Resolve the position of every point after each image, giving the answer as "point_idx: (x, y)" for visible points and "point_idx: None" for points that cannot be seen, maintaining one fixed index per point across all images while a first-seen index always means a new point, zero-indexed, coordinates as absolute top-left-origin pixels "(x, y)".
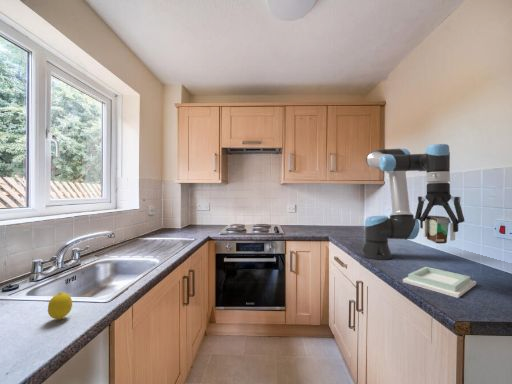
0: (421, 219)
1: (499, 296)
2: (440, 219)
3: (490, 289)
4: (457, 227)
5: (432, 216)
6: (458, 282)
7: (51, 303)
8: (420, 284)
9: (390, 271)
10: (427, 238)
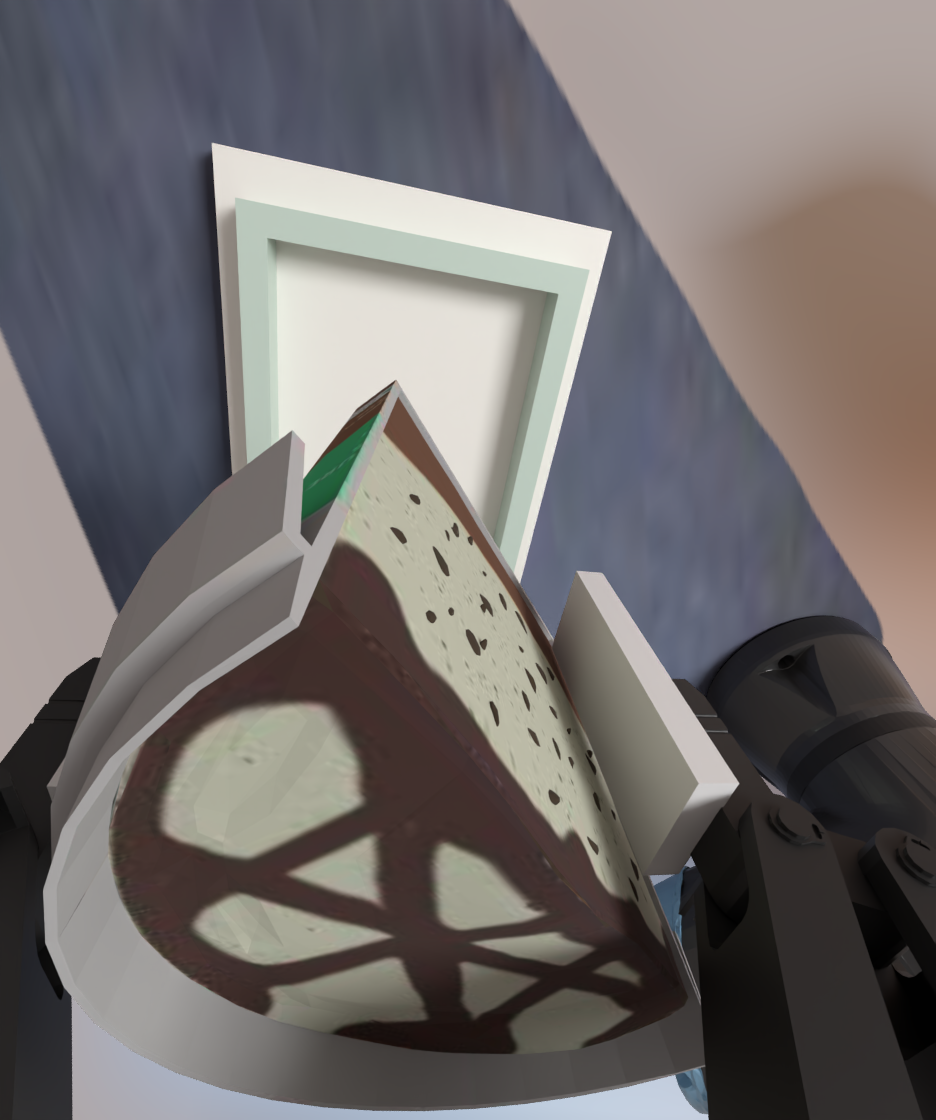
0: (792, 824)
1: (79, 427)
2: (197, 645)
3: (162, 527)
4: (28, 754)
5: (588, 1062)
6: (254, 344)
7: None
8: (481, 203)
9: (697, 437)
10: (545, 635)
